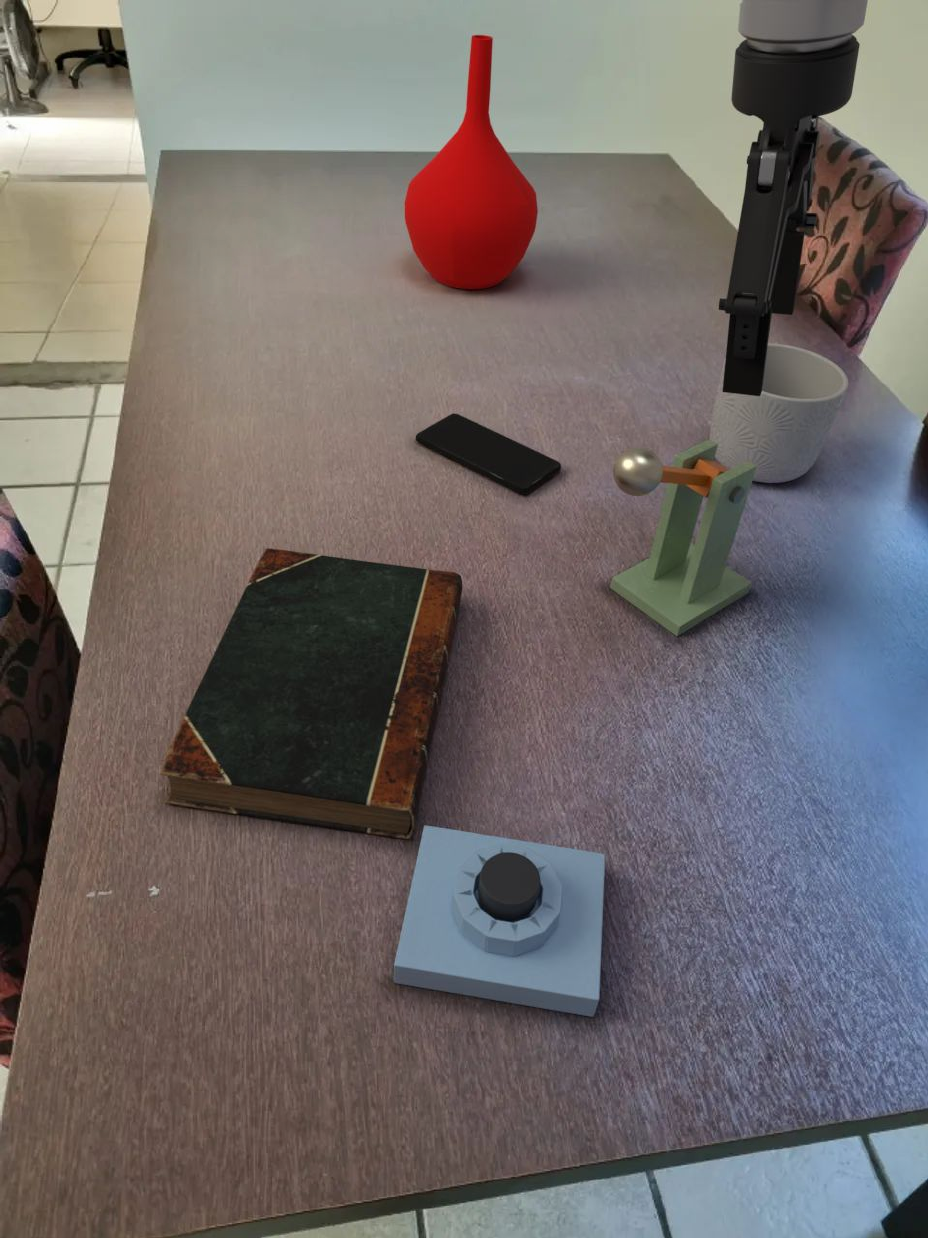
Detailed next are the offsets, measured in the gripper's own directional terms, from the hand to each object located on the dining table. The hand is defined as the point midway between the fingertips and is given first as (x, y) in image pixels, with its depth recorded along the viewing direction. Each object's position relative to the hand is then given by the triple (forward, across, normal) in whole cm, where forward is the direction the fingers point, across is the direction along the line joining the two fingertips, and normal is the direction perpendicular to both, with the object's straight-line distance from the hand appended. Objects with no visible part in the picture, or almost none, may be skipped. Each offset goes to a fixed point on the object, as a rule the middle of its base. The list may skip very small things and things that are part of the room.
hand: (759, 349), depth 73 cm
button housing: (+18, +44, -6) cm, 48 cm away
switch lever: (+8, +10, -5) cm, 14 cm away
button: (+15, +43, -5) cm, 46 cm away
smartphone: (+18, -6, -28) cm, 34 cm away
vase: (+18, -49, -49) cm, 72 cm away
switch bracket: (+21, +6, -4) cm, 22 cm away
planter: (+23, -20, -2) cm, 30 cm away
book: (+16, +31, -25) cm, 43 cm away
